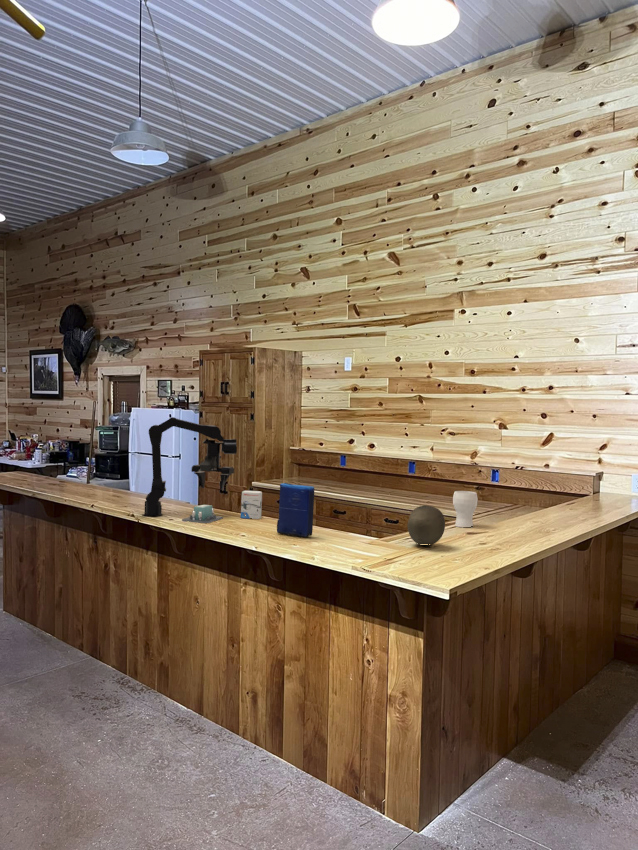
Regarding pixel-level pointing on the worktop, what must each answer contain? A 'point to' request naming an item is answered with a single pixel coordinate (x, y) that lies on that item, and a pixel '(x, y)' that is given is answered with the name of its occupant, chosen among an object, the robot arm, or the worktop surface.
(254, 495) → the ink box
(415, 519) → the dark grey sphere
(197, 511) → the block
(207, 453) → the robot arm
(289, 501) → the book
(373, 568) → the worktop surface
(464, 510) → the cup
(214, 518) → the metal plate device
